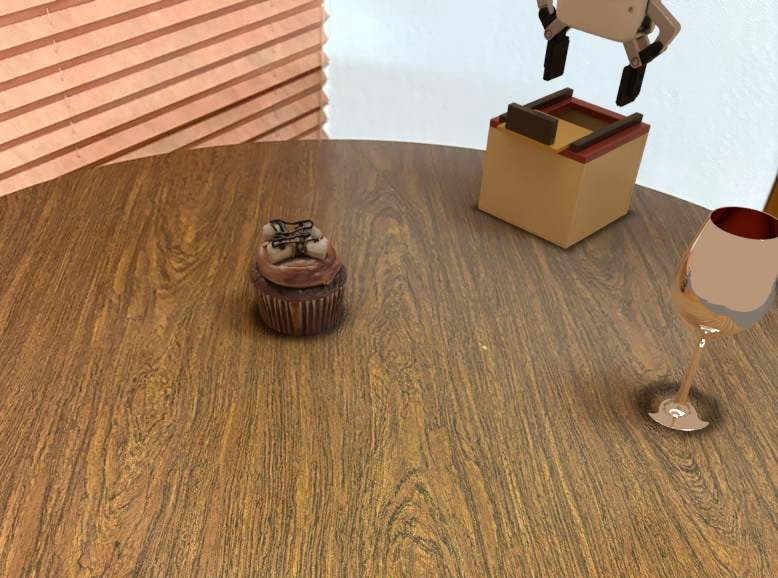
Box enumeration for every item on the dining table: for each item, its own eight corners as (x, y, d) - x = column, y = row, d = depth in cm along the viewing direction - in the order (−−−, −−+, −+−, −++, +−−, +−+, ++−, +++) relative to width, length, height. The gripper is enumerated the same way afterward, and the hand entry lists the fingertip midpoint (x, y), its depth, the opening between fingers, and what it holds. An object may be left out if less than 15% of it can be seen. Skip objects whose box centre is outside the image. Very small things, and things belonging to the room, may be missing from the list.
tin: (540, 179, 111) (558, 83, 102) (626, 216, 105) (653, 117, 97) (477, 211, 104) (491, 111, 96) (564, 251, 98) (587, 149, 90)
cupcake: (360, 335, 85) (364, 241, 78) (266, 351, 83) (260, 255, 75) (330, 285, 91) (331, 193, 84) (241, 299, 89) (234, 206, 81)
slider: (534, 113, 98) (539, 85, 96) (593, 136, 94) (599, 107, 92) (496, 130, 94) (500, 101, 92) (555, 154, 91) (561, 124, 88)
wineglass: (623, 422, 77) (685, 232, 65) (641, 375, 83) (701, 191, 70) (715, 448, 75) (798, 257, 63) (727, 399, 81) (805, 213, 68)
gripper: (726, -86, 81) (673, 105, 94) (575, -119, 89) (545, 61, 101) (686, -74, 77) (636, 123, 90) (532, -110, 85) (506, 76, 98)
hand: (588, 90), depth 96 cm, fingers open, 9 cm apart
